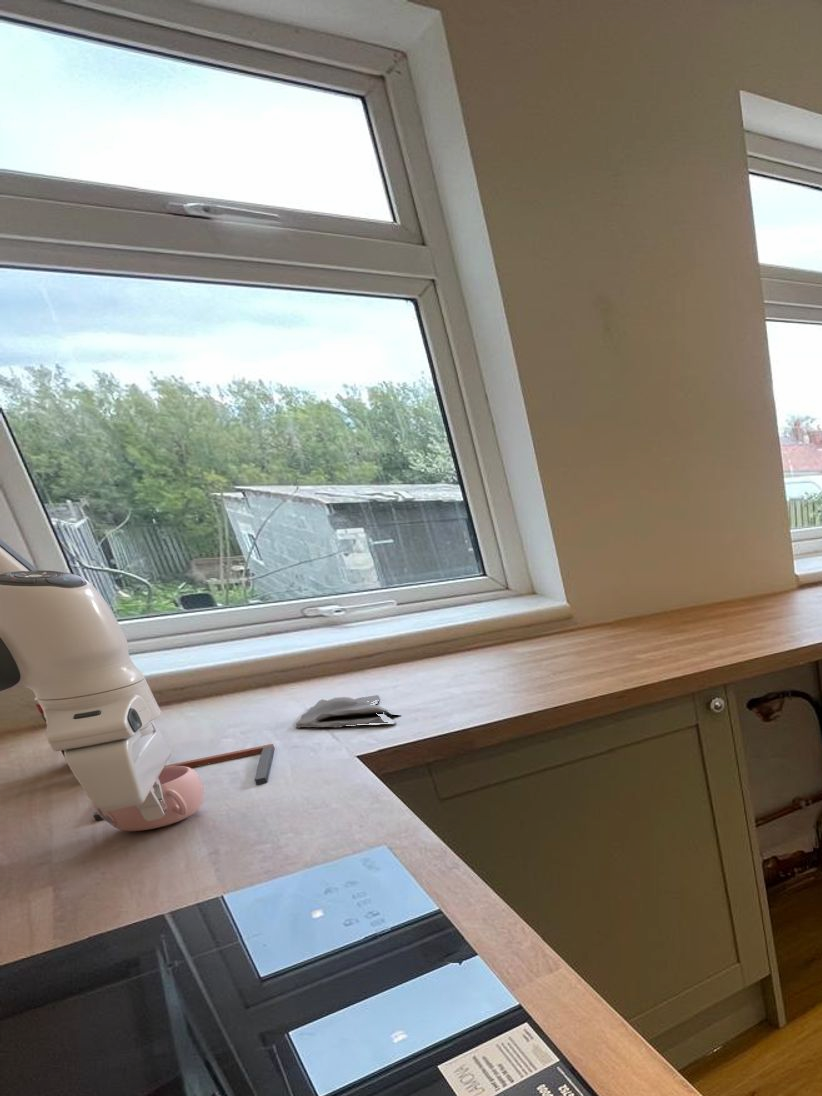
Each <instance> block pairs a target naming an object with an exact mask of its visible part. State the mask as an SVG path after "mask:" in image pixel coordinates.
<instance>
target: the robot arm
mask: <svg viewBox="0 0 822 1096" xmlns="http://www.w3.org/2000/svg"><path fill="white" fill-rule="evenodd" d="M20 688H26V689H29V690H31V691H32V692H33V694H34V696H35V698H37V700H38V702H39V704H40V706H41V708H42V709H43V711H44V716H45V718H46V720H47V724H46V730H45V739H46V741H47V743H48V745H49V746H50V748H51V749H52V750H53V751H54V752H61V751H62V750H65V751H64V755H65V757H64V760H65V761H66V763H67V765H68V767H69V769H70V770H71V772H72V774H73V776H74V777H75V778H76V780H77V781H78V783H79V785H80V786H81V787H82V789H83V791H84V792H85V794H86V795H87V797H88V798H89V800H90V801H91V803H92V802H93V803H94V804H95V805H96V806H97V807H98V808H100V809H101V810H103V811H113V810H117V809H122V808H127V807H131V806H136V807H137V808H138V809H139V810H140V812H141V814H142V816H143V818H144V819H145V820H146V821H152V820H156V819H161V818H163V817H164V814H165V812H166V811H167V809H168V806H167V804H166V802H165V800H164V798H163V794H162V789H161V784H160V781H159V779H158V777H159V775H160V773H161V771H162V770H163V768H164V766H166V765H167V763H168V761H169V760H170V758H171V756H172V752H171V747H170V745H169V742H168V740H167V738H166V736H165V734H164V733H163V731H162V729H161V728H160V726H159V724H158V722H157V720H156V719H158V718H159V717H160V716H162V711H161V709H160V706H159V704H158V702H157V700H156V698H155V696H154V694H153V692H152V690H151V688H150V686H149V684H148V682H147V679H146V678H145V675H144V674H143V672H142V671H141V670H140V669H139V668H138V667H137V666H136V665H135V664H134V662H133V661H132V658H131V655H130V653H129V643H128V640H127V638H126V636H125V633H124V631H123V630H122V627H121V626H120V623H119V621H118V620H117V618H116V615H115V614H114V613H113V611H112V609H111V607H110V606H109V604H108V602H107V601H106V600H105V598H104V597H103V596H102V594H101V593H100V591H99V590H98V589H97V588H96V587H95V586H94V585H93V584H92V583H91V582H90V581H88V580H87V579H86V578H84V577H83V576H80V575H77V574H74V573H71V572H67V571H66V572H65V571H59V570H47V569H46V570H42V569H41V570H40V569H39V568H37V567H35V566H34V565H33V564H32V563H30V562H29V561H28V560H27V559H26V558H24V557H23V556H22V555H21V554H20V553H18V552H17V551H16V550H15V549H13V548H12V546H10V545H9V544H7V543H6V542H5V541H4V540H2V538H0V694H2V693H7V692H10V691H12V690H15V689H20ZM64 755H63V756H64Z"/></svg>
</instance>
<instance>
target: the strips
mask: <svg viewBox="0 0 822 1096" xmlns="http://www.w3.org/2000/svg"><path fill="white" fill-rule="evenodd" d="M274 752H275V745H274V743H269V744H265V745H259V746H253V747H250V748H245V749H239V750H235V751H231V752H225V753H220V754H215V755H210V756H206V757H201V758H196V759H191V760H186V761H181V762H176V763H172V764H171V763H170V764H166V765H165V766H164V767H168V766H185V767H189V768H191V769H192V768H195V767H194V766H196V767H200V766H199V765H201V766H205V765H204V764H206V765H209V764H208V763H211V764H214V763H213V762H215V763H219V761H220V762H226V761H230V760H234V759H239V758H244V757H248V755H249V756H253V755H252V754H254V755H258V753H259V754H260V756H259V762H258V765H257V769H256V772H255V775H254V776H255V777H254V782H255V784H256V785H261V784H266V783H268V781H269V777H270V776H269V775H270V773H271V767H272V762H273V758H274ZM93 818H94V820H95V821H101V820H103V819H102V818H101V817H100V816H99V814H98V813H97V812H96V811H95V812H94V814H93Z"/></svg>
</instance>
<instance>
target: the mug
mask: <svg viewBox="0 0 822 1096" xmlns="http://www.w3.org/2000/svg"><path fill="white" fill-rule="evenodd" d="M158 779H159V781H160V784H161V789H162V794H163V798H164V800H165V802H166V804H167V806H168V809H167V811H166V812H165V814H164V817H163V818H161V819H156V820H152V821H146V820H145V819H144V818H143V816H142V814H141V812H140V810H139V809H138V808H137V807H136V806H131V807H127V808H122V809H117V810H113V811H103V810H101V809H100V808H98V807H97V806H96V805H95V804H94V803H93V802H92V801H91V804H92V806H93V808H94V810H95V812H97V813H98V814H99V816H100V817H101V818H102V819H101V820H103V821H105V822H106V823H108V824H109V825H110V826H113V827H114V828H115V829H117V830H120V831H123V832H124V831H125V832H141V831H149V830H154V829H159V828H161V827H162V828H163V827H167V826H170V825H172V824H175V823H178V822H180V821H183V820H185V819H187V818H189V817H191V816H192V815H194V814H196V813H197V812H199V810H201V807H202V806H203V803H204V796H205V791H204V785H203V782H202V780H201V778H200V776H199V774H198V773H197V772H196V770H195V769H193V768H192V767H191V768H189V767H185V766H168V767H164V768H163V770H162V771H161V773H160V775H159V777H158Z"/></svg>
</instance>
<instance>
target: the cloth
mask: <svg viewBox="0 0 822 1096" xmlns="http://www.w3.org/2000/svg"><path fill="white" fill-rule="evenodd" d="M379 698H380V696H379V695H378V694H375V695H370V696H363V697H357V698H353V697H349V696H342V697H341V696H339V697H333V698H331V699H328V700H326V699H320V700H318V701H317V702H316V703H315V704H314V705H313V706H311V707H310V708H309V709H308V710H307V712H305V713H303V714H302V715H301V717H300V719H299V720H298V721H297V722H296V723H295V724H294V725H295V727H296V728H300V727H333V728H336V727H335V726H346V725H357V724H369V723H388V722H384V721H383V720H382V719H381V717H380V716H378V715H377V714H383V712H385V713H386V714H387V715H390V716H392V714H390V713H389V712H388V711H387V710H388V709H386V708H384V707H383V706H380V705H379V704H377V705H370V704H373V703H371V702H373V701H375V700H379V701H380V699H379ZM367 701H369V702H367ZM377 702H378V701H377ZM374 703H375V702H374ZM376 713H377V714H376ZM300 729H301V728H300Z"/></svg>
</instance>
